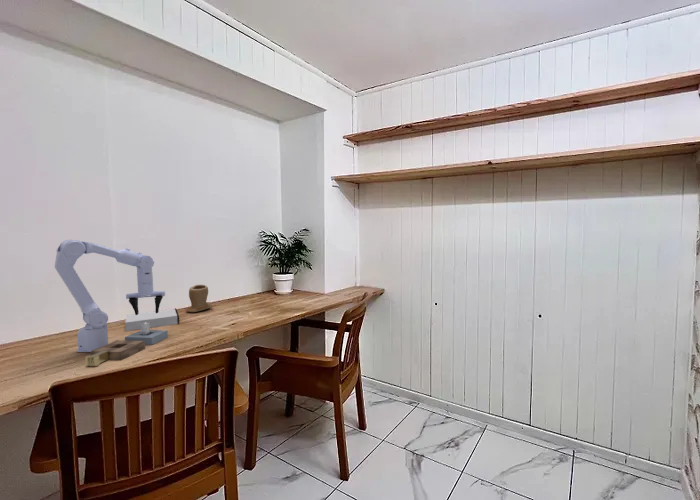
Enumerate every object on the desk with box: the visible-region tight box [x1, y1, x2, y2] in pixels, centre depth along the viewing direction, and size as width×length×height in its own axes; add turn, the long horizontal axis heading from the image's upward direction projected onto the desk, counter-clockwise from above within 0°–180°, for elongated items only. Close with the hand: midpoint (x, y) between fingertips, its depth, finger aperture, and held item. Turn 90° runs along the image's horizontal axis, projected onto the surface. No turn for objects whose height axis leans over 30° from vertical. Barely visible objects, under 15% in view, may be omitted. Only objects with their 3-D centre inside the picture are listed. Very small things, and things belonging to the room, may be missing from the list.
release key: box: [85, 351, 109, 367], centre depth 121 cm, size 4×6×3 cm, turn 173°
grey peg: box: [141, 322, 151, 335], centre depth 144 cm, size 3×3×8 cm
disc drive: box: [124, 307, 180, 332], centre depth 172 cm, size 18×22×5 cm
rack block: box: [124, 329, 169, 346], centre depth 145 cm, size 12×10×3 cm
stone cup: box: [184, 284, 214, 313], centre depth 198 cm, size 15×12×15 cm
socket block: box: [90, 339, 146, 361], centre depth 130 cm, size 12×12×3 cm
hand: (147, 313), depth 149 cm, fingers open, 7 cm apart
